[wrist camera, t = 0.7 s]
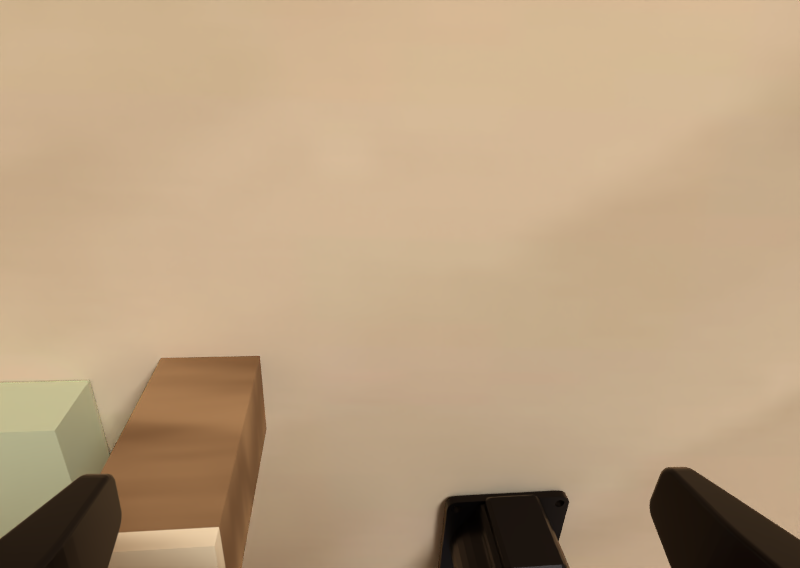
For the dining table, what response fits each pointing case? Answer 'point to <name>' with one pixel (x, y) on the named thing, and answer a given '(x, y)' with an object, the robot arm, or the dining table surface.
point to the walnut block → (190, 465)
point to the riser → (45, 443)
